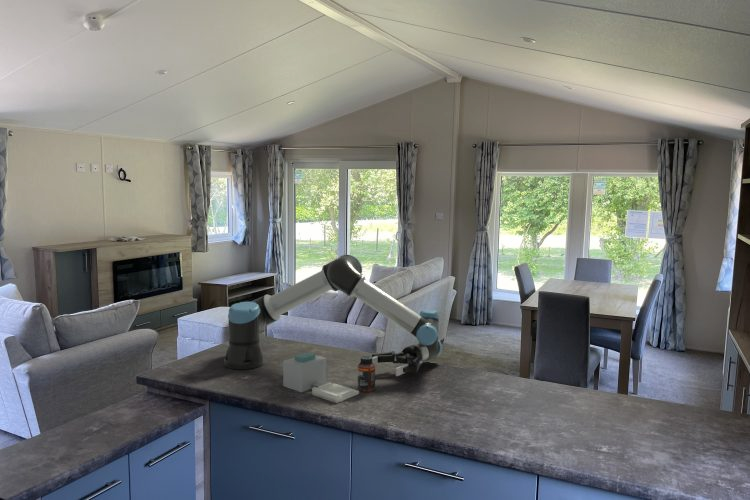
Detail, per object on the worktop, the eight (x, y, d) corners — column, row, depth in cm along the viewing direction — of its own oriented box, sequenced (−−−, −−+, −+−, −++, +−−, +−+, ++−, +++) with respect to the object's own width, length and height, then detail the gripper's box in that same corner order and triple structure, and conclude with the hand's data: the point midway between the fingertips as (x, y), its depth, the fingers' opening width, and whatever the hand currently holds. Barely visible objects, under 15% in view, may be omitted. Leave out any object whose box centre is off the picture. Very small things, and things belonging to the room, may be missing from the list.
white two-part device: (275, 383, 188) (275, 354, 187) (300, 375, 197) (300, 346, 196) (335, 403, 170) (335, 371, 169) (359, 393, 179) (360, 362, 178)
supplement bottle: (375, 387, 186) (376, 355, 185) (374, 393, 180) (374, 360, 179) (358, 386, 186) (359, 354, 185) (356, 392, 181) (356, 359, 179)
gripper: (442, 371, 198) (409, 386, 181) (388, 358, 213) (353, 371, 196) (443, 351, 197) (410, 364, 180) (388, 339, 212) (353, 351, 196)
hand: (380, 368), depth 188 cm, fingers open, 13 cm apart
